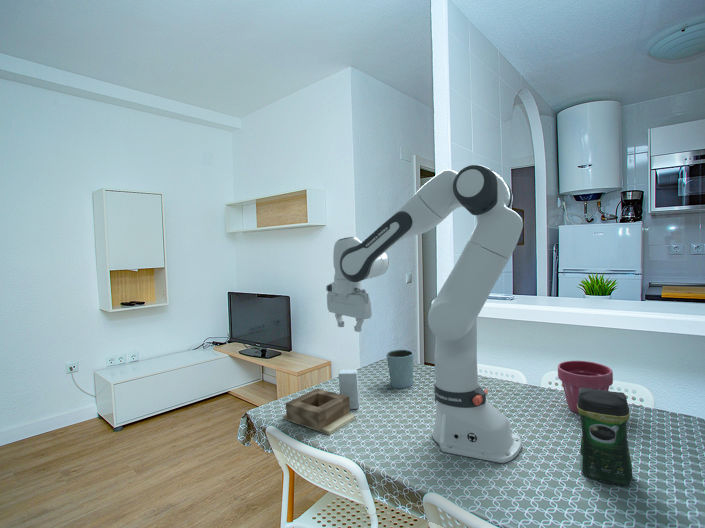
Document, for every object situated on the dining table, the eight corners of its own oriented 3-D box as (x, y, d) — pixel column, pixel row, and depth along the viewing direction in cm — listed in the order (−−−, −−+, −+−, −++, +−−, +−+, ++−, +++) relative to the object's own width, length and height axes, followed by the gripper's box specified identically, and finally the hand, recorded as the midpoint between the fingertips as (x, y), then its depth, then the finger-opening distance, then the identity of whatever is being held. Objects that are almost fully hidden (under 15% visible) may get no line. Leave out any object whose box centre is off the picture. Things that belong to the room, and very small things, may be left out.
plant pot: (604, 424, 105) (602, 379, 104) (551, 410, 116) (549, 368, 115) (620, 408, 114) (619, 366, 114) (570, 396, 125) (568, 357, 124)
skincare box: (359, 404, 129) (357, 369, 128) (358, 409, 125) (356, 373, 124) (342, 404, 130) (339, 369, 129) (340, 409, 125) (338, 373, 125)
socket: (357, 417, 119) (356, 398, 119) (327, 436, 108) (326, 415, 108) (311, 403, 131) (310, 386, 131) (280, 419, 121) (279, 401, 120)
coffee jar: (632, 471, 84) (629, 388, 83) (633, 491, 78) (630, 401, 77) (581, 459, 90) (578, 381, 89) (577, 477, 83) (574, 393, 82)
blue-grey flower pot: (419, 381, 147) (417, 350, 146) (408, 390, 138) (406, 358, 137) (395, 378, 152) (393, 348, 151) (383, 386, 143) (381, 355, 143)
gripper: (375, 288, 118) (377, 332, 119) (338, 284, 135) (339, 323, 136) (359, 290, 115) (361, 336, 115) (323, 285, 131) (324, 325, 132)
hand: (349, 329), depth 126 cm, fingers open, 8 cm apart
